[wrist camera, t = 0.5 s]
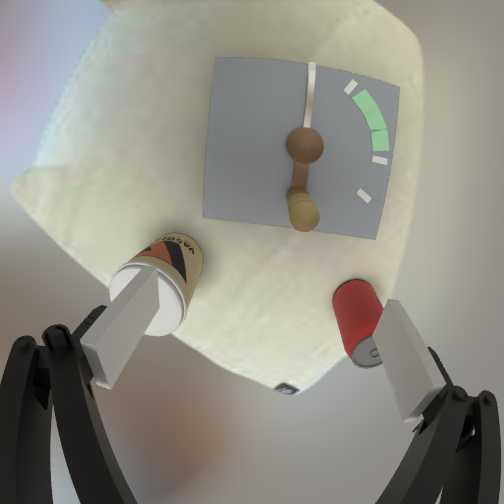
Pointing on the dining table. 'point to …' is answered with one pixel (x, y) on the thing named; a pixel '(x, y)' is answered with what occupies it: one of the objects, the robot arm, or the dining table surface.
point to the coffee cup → (165, 278)
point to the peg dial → (304, 167)
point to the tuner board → (275, 136)
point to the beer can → (358, 321)
